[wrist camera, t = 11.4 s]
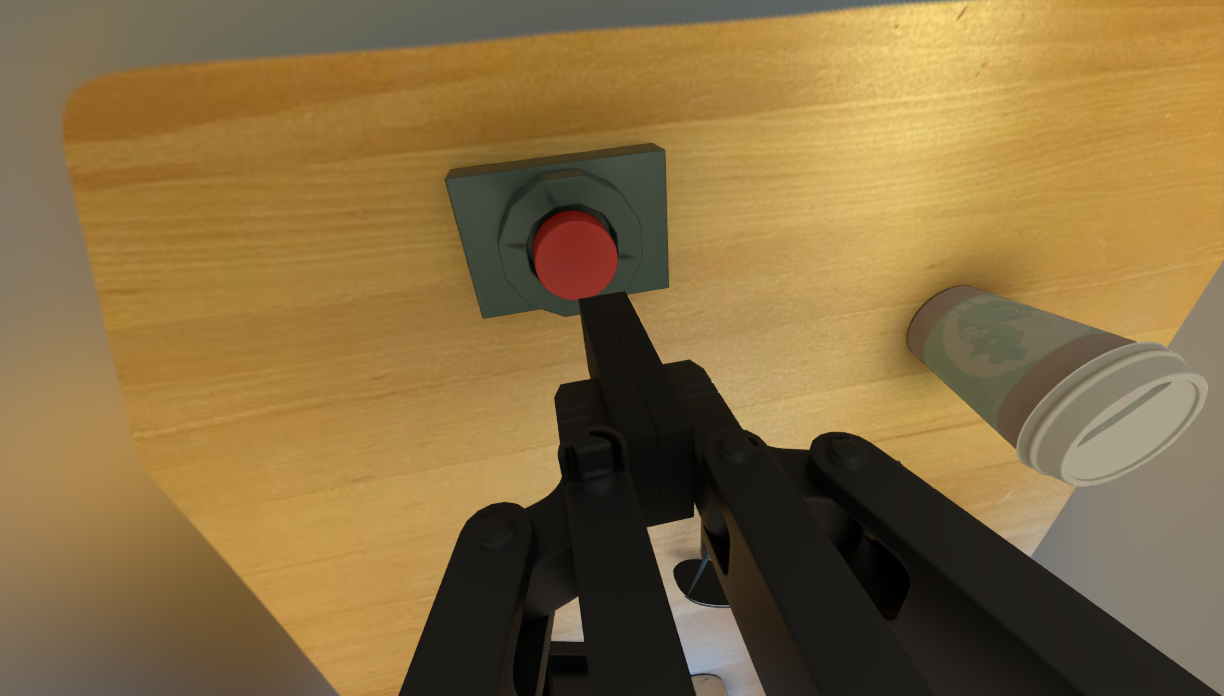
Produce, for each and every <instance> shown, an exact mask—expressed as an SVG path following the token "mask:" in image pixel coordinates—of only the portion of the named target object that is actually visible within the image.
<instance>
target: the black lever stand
mask: <svg viewBox="0 0 1224 696" xmlns="http://www.w3.org/2000/svg"><path fill="white" fill-rule="evenodd" d="M542 696H591V689H590V681H589V674H588V666H587V658H586V650H585V643H571V642H550V647H549V654H548V660H547V667H546V673H545V680H544V686H543V693H542Z"/></svg>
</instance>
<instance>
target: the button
mask: <svg viewBox="0 0 1224 696" xmlns="http://www.w3.org/2000/svg"><path fill="white" fill-rule="evenodd" d="M533 254H534V261H535V269H536V272H537V275H538V278H539V280H540V281H541V283H542V284H543V286H544V287H545V288H546V289H547V290H548V291H550V292H551V293H552V294H554V295H556V296H558V297H560V298H563V299H568V300H578V299H580V298H586V297H592V296H595V295H597V294H598V293H600V292H601V291H602V290H604V289H605V288H606V287H607V286H608V285H609V283H610V282H611V280H612V279H613V277H614V275H615V272H616V269H617V264H618V254H617V249H616V246H615V244H614V241H613V240H612V238H611V236H610V235H609V233H608V231H607V230H606V228H605V227H604V225H603V224H602V223H601V222H600V221H599V220H598V219H597V218H595V217H594V216H592V215H590V214H588V213H585V212H582V211H575V210H571V211H564V212H560V213H557V214H555V215H553V216H552V217H550V218H549V219H547V220H546V221H545V222H544V223H543V224H542V225H541V227H540V228H539V230H538V231H537V234H536V236H535V239H534V244H533Z"/></svg>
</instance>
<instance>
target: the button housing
mask: <svg viewBox="0 0 1224 696" xmlns="http://www.w3.org/2000/svg"><path fill="white" fill-rule="evenodd" d="M445 182H446V186H447V190H448V193H449V197H450V201H451V204H452V208H453V212H454V215H455V219H456V223H457V226H458V230H459V234H460V237H461V241H462V245H463V248H464V252H465V256H466V259H467V263H468V267H469V270H470V274H471V278H472V281H473V285H474V289H475V292H476V296H477V299H478V303H479V307H480V310H481V314H482V318H483V319H485V318H491V317H497V316H503V315H508V314H514V313H520V312H526V311H532V310H538V309H542V310H545V311H548V312H552V313H555V314H558V315H561V316H565V317H568V316H573V315H579V314H580V308H579V301H578V300H568V299H563V298H560V297H558V296H556V295H554V294H552V293H551V292H550V291H548V290H547V289H546V288H545V287H544V286H543V284H542V283H541V281H540V280H539V278H538V275H537V272H536V269H535V261H534V254H533V244H534V239H535V236H536V234H537V231H538V230H539V228H540V227H541V225H542V224H543V223H544V222H545V221H546V220H547V219H549V218H550V217H552V216H553V215H555V214H557V213H560V212H564V211H571V210H575V211H582V212H585V213H588V214H590V215H592V216H594V217H595V218H597V219H598V220H599V221H600V222H601V223H602V224H603V225H604V227H605V228H606V230H607V231H608V233H609V235H610V236H611V238H612V240H613V241H614V244H615V246H616V249H617V254H618V264H617V269H616V272H615V275H614V277H613V279H612V280H611V282H610V283H609V285H608V286H607V287H606V288H605V289H604V290H602V291H601V292H600V293H598V294H597V295H595V296H598V295H604V294H610V293H616V292H622V291H625V292H626V294H633V293H639V292H645V291H651V290H657V289H663V288H668V287H669V269H668V231H667V194H666V157H665V150H664V149H663V148H661V147H659V146H657V145H655V144H653V143H649V144H642V145H634V146H626V147H619V148H611V149H603V150H596V151H588V152H581V153H573V154H565V155H558V156H550V157H542V158H535V159H527V160H519V161H512V162H504V163H496V164H489V165H481V166H474V167H466V168H458V169H451V170H450V171H449V173H448V175H447V176H446V178H445Z"/></svg>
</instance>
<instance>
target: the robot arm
mask: <svg viewBox="0 0 1224 696" xmlns="http://www.w3.org/2000/svg"><path fill="white" fill-rule="evenodd" d="M578 301H579V308H580V315H581V322H582V328H583V335H584V342H585V349H586V356H587V363H588V370H589V374H590V378H591V379H588V380H582V381H577V382H571V383H566V384H560V387H559V389H558V391H557V393H556V395H555V397H554V400H555V408H556V416H557V423H558V431H559V439H560V445H559V450H558V460H559V464H560V469H561V474H562V478H561V481H560V483H559V484H558V486H557V487H556V489H555V490H554V491H553V492H551V493H550V494H549V495H548V496H547V497H545V498H544V499H542V500H541V501H539V502H537V503H535V504H533V505H531V506H529V507H527V508H525V509H524V508H523V507H521V506H520V505H518V504H515V503H509V502H502V503H496V504H491V505H489V506H487V507H485V508H483V509H481V510H479V511H477V512H476V513H475V514H474V515H473V516H472V517H471V518H470V519H468V520H467V522H466V524H465V525H464V527H463V529H462V530H461V532H460V534H459V537H458V540H457V542H456V545H455V548H454V550H453V553H452V556H451V558H450V561H449V563H448V566H447V569H446V571H445V574H444V577H443V579H442V582H441V585H440V587H439V590H438V593H437V595H436V598H435V601H434V603H433V606H432V608H431V611H430V614H429V616H428V619H427V622H426V624H425V627H424V630H423V632H422V635H421V638H420V640H419V643H418V645H417V648H416V651H415V653H414V656H413V659H412V661H411V664H410V667H409V669H408V672H407V675H406V677H405V680H404V683H403V685H402V688H401V690H400V693H399V696H542V693H543V686H544V680H545V673H546V667H547V660H548V654H549V647H550V641H551V635H552V628H553V622H554V615H555V610H557V609H558V608H560V607H562V606H563V605H565V604H567V603H568V602H570V601H571V600H573V599H575V598H576V597H579V604H580V612H581V620H582V627H583V635H584V643H585V650H586V658H587V666H588V674H589V681H590V689H591V696H697V695H696V692H695V689H694V685H693V682H692V679H691V675H690V672H689V669H688V665H687V662H686V658H685V655H684V652H683V648H682V645H681V642H680V638H679V635H678V632H677V628H676V625H675V622H674V618H673V615H672V611H671V608H670V605H669V601H668V598H667V595H666V591H665V588H664V585H663V581H662V578H661V575H660V571H659V568H658V565H657V561H656V558H655V554H654V551H653V548H652V544H651V541H650V538H649V534H648V531H647V528H646V527H651V526H655V525H660V524H664V523H669V522H673V521H678V520H682V519H687V518H692V517H694V503H695V505H696V508H697V510H698V512H699V515H700V517H701V556H702V560H704V559H707V551H708V553H709V556H710V558H711V561H712V563H713V565H714V568H715V570H716V573H717V575H718V578H719V580H720V583H721V585H722V588H723V590H724V593H725V595H726V598H727V600H728V603H729V605H730V608H731V610H732V613H733V615H734V617H735V620H736V622H737V625H738V627H739V630H740V632H741V635H742V637H743V640H744V642H745V645H746V647H747V650H748V652H749V655H750V657H751V660H752V662H753V665H754V667H755V670H756V672H757V674H758V677H759V679H760V682H761V684H762V687H763V689H764V692H765V694H766V696H1221V695H1220V694H1218V693H1217V692H1216V691H1214V690H1213V689H1211V688H1210V687H1209V686H1207V685H1206V684H1204V683H1203V682H1202V681H1200V680H1199V679H1198V678H1196V677H1195V676H1193V675H1192V674H1191V673H1189V672H1188V671H1186V670H1185V669H1184V668H1182V667H1181V666H1180V665H1178V664H1177V663H1176V662H1174V661H1173V660H1171V659H1170V658H1169V657H1167V656H1166V655H1164V654H1163V653H1162V652H1160V651H1159V650H1158V649H1156V648H1155V647H1153V646H1152V645H1151V644H1149V643H1148V642H1146V641H1145V640H1143V639H1142V638H1141V637H1140V636H1138V635H1137V634H1135V633H1134V632H1132V631H1131V630H1130V629H1128V628H1127V627H1126V626H1124V625H1123V624H1121V623H1120V622H1119V621H1117V620H1116V619H1115V618H1113V617H1112V616H1110V615H1109V614H1108V613H1106V612H1105V611H1103V610H1102V609H1101V608H1099V607H1098V606H1096V605H1095V604H1094V603H1092V602H1091V601H1090V600H1088V599H1087V598H1085V597H1084V596H1083V595H1081V594H1080V593H1079V592H1077V591H1076V590H1074V589H1073V588H1072V587H1070V586H1069V585H1067V584H1066V583H1064V582H1063V581H1062V580H1061V579H1059V578H1058V577H1056V576H1055V575H1054V574H1052V573H1051V572H1049V571H1048V570H1047V569H1045V568H1044V567H1043V566H1041V565H1040V564H1038V563H1037V562H1036V561H1034V560H1033V559H1031V558H1030V557H1029V556H1027V555H1026V554H1025V553H1023V552H1022V551H1020V550H1019V549H1018V548H1016V547H1015V546H1013V545H1012V544H1011V543H1009V542H1008V541H1006V540H1005V539H1004V538H1002V537H1001V536H1000V535H998V534H997V533H995V532H994V531H993V530H991V529H990V528H988V527H987V526H986V525H984V524H983V523H982V522H980V521H979V520H977V519H976V518H975V517H973V516H972V515H970V514H969V513H968V512H966V511H965V510H964V509H962V508H961V507H959V506H958V505H957V504H955V503H954V502H952V501H951V500H950V499H948V498H947V497H946V496H944V495H943V494H941V493H940V492H939V491H937V490H936V489H934V488H933V487H932V486H930V485H929V484H928V483H926V482H925V481H923V480H922V479H921V478H919V477H918V476H916V475H915V474H914V473H912V472H911V471H910V470H908V469H907V468H905V467H904V466H903V465H901V464H900V463H898V462H897V461H896V460H894V459H893V458H891V457H890V456H889V455H887V454H886V453H885V452H883V451H882V450H880V449H879V448H878V447H876V446H875V445H873V444H872V443H870V442H869V441H867V440H865V439H863V438H861V437H859V436H856V435H853V434H849V433H846V432H829V433H825V434H821V435H819V436H818V437H817V438H815V439H814V440H813V441H812V444H811V447H810V450H801V449H783V448H775V447H771V446H767V445H766V443H765V442H764V441H763V440H762V439H761V438H760V437H759V436H757V435H755V434H753V433H751V432H749V431H747V430H743V429H742V428H741V426H740V424H739V423H738V421H737V420H736V418H735V417H734V415H733V414H732V412H731V410H730V409H729V407H728V406H727V404H726V403H725V401H724V399H723V398H722V396H721V395H720V393H718V390H717V389H716V387H715V385H714V384H713V383H712V382H711V379H710V378H709V376H708V375H707V373H706V371H705V370H704V368H702V367H700V366H699V365H697V364H696V363H694V362H693V361H691V360H684V361H679V362H673V363H668V364H662V362H661V360H660V358H659V356H658V354H657V352H656V350H655V349H654V347H653V345H652V343H651V341H650V339H649V337H648V335H647V333H646V331H645V329H644V327H643V325H642V323H641V321H640V319H639V317H638V315H637V313H636V311H635V309H634V308H633V306H632V304H631V302H630V300H629V298H628V296H627V294H626V292H625V291H622V292H616V293H610V294H604V295H598V296H592V297H586V298H580V299H578Z"/></svg>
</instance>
